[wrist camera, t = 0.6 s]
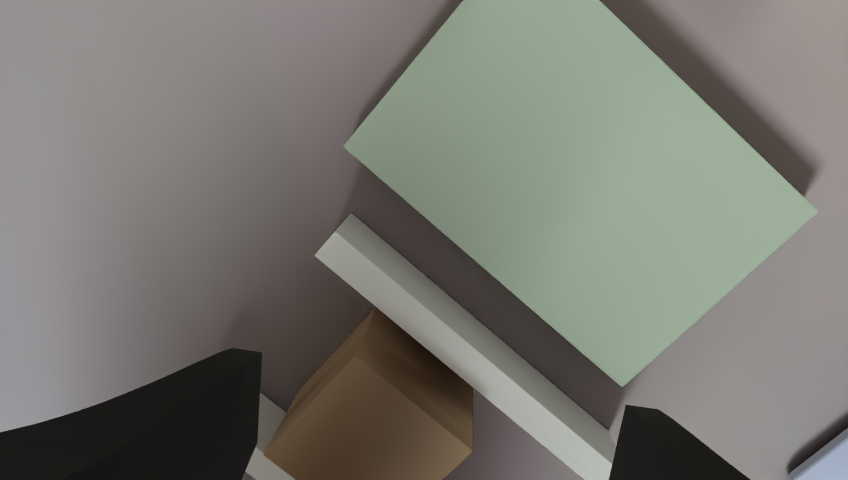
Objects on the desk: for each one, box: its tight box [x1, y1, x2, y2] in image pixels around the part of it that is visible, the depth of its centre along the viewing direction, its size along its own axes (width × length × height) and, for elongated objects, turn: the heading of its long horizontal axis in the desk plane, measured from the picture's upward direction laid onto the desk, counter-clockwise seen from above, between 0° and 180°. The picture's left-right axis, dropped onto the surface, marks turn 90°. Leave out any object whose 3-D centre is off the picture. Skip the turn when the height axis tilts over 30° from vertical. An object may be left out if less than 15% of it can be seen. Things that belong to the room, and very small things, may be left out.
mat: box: [343, 0, 818, 387], centre depth 19 cm, size 12×8×1 cm, turn 49°
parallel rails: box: [245, 213, 616, 480], centre depth 21 cm, size 12×8×2 cm
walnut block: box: [263, 307, 473, 480], centre depth 20 cm, size 4×4×4 cm
